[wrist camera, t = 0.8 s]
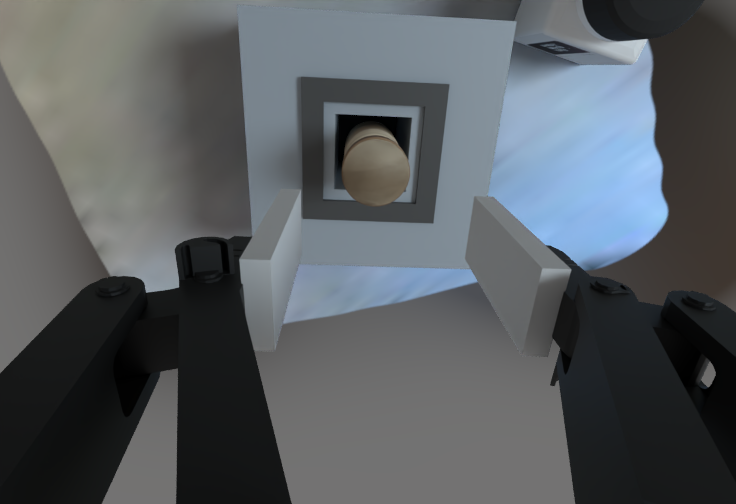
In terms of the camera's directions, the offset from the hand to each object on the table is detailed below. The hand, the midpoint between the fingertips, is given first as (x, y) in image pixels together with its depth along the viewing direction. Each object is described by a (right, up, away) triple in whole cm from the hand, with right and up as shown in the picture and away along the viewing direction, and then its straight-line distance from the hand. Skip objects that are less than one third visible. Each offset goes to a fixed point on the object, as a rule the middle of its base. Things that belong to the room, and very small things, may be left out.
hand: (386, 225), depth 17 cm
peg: (-1, +7, +16) cm, 18 cm away
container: (+16, +20, +19) cm, 32 cm away
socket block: (-1, +10, +23) cm, 25 cm away
